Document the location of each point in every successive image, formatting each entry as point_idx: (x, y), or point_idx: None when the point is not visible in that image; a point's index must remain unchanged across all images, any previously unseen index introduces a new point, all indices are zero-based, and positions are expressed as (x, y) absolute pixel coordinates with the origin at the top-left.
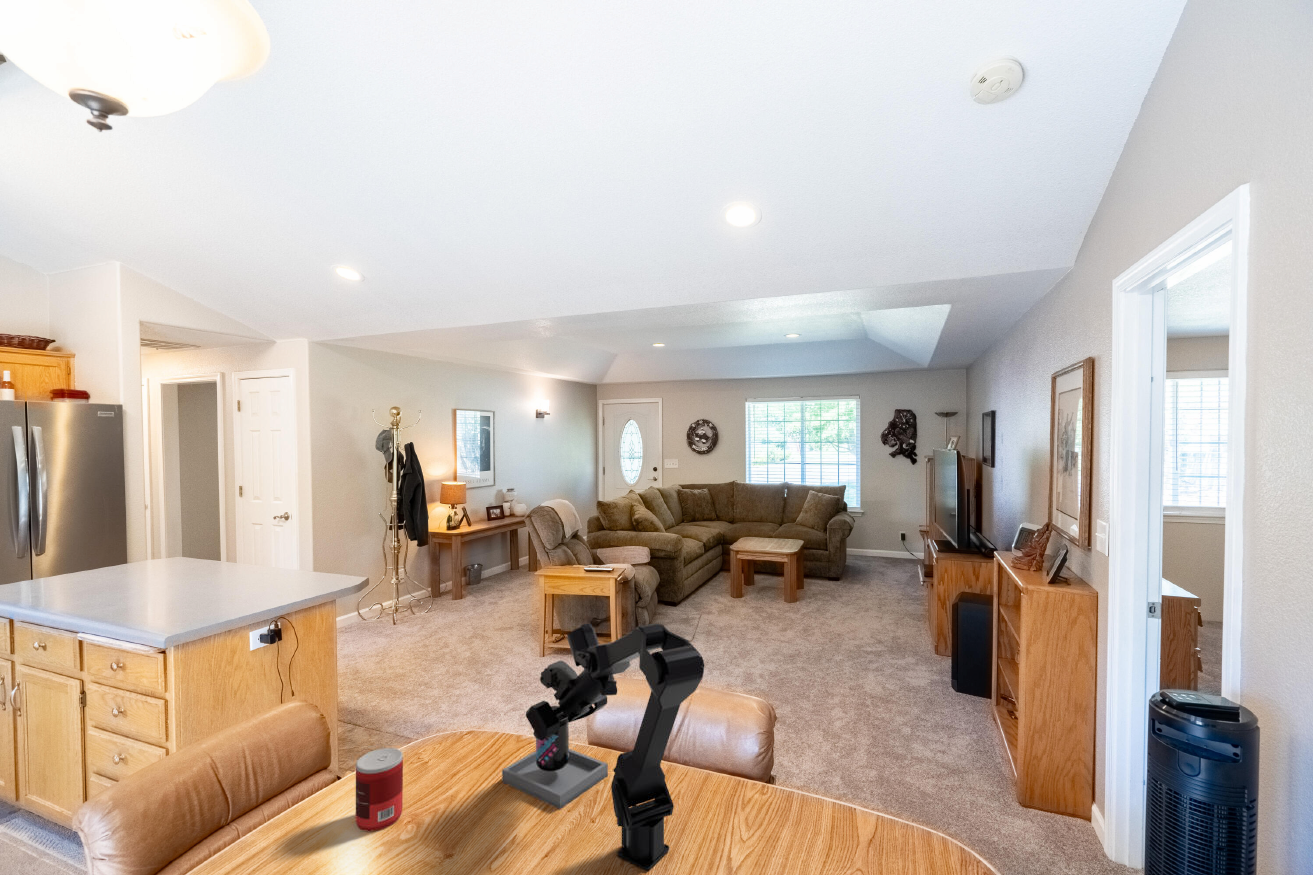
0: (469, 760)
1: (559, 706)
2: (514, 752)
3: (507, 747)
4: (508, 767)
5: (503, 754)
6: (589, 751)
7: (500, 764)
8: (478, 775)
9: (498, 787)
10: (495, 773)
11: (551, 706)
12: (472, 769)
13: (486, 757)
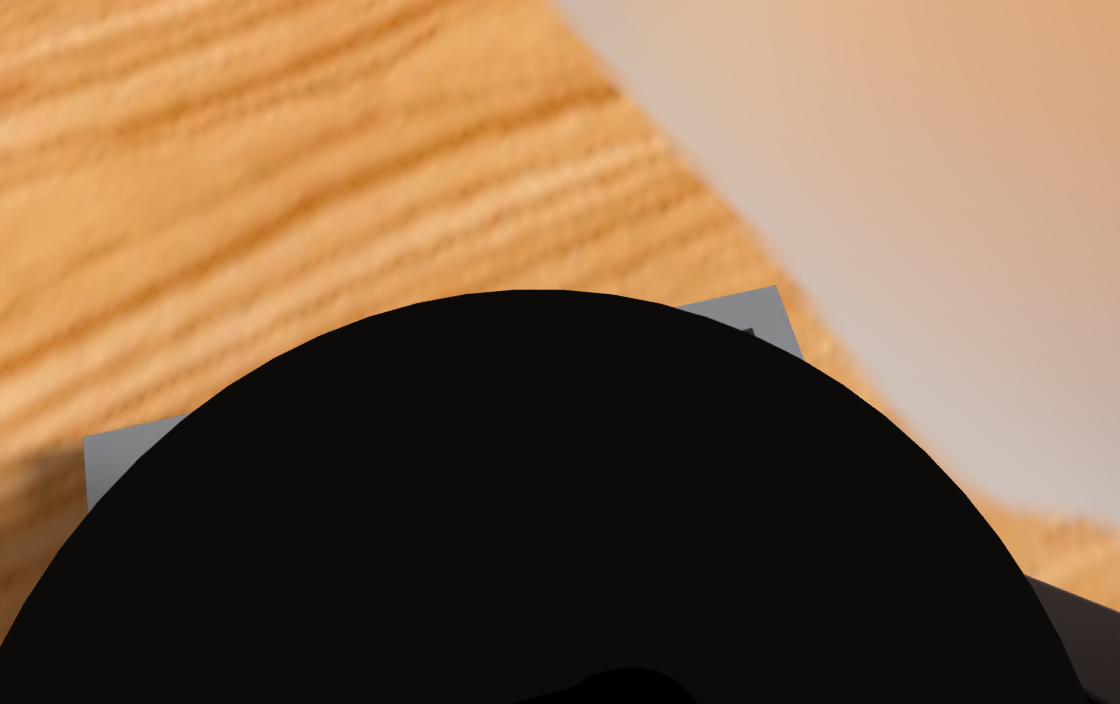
0: (163, 17)
1: (970, 526)
2: (497, 126)
3: (495, 32)
4: (155, 441)
5: (411, 99)
6: (1070, 539)
7: (303, 212)
8: (68, 244)
9: (56, 529)
10: (186, 306)
11: (763, 365)
12: (95, 138)
13: (285, 57)
